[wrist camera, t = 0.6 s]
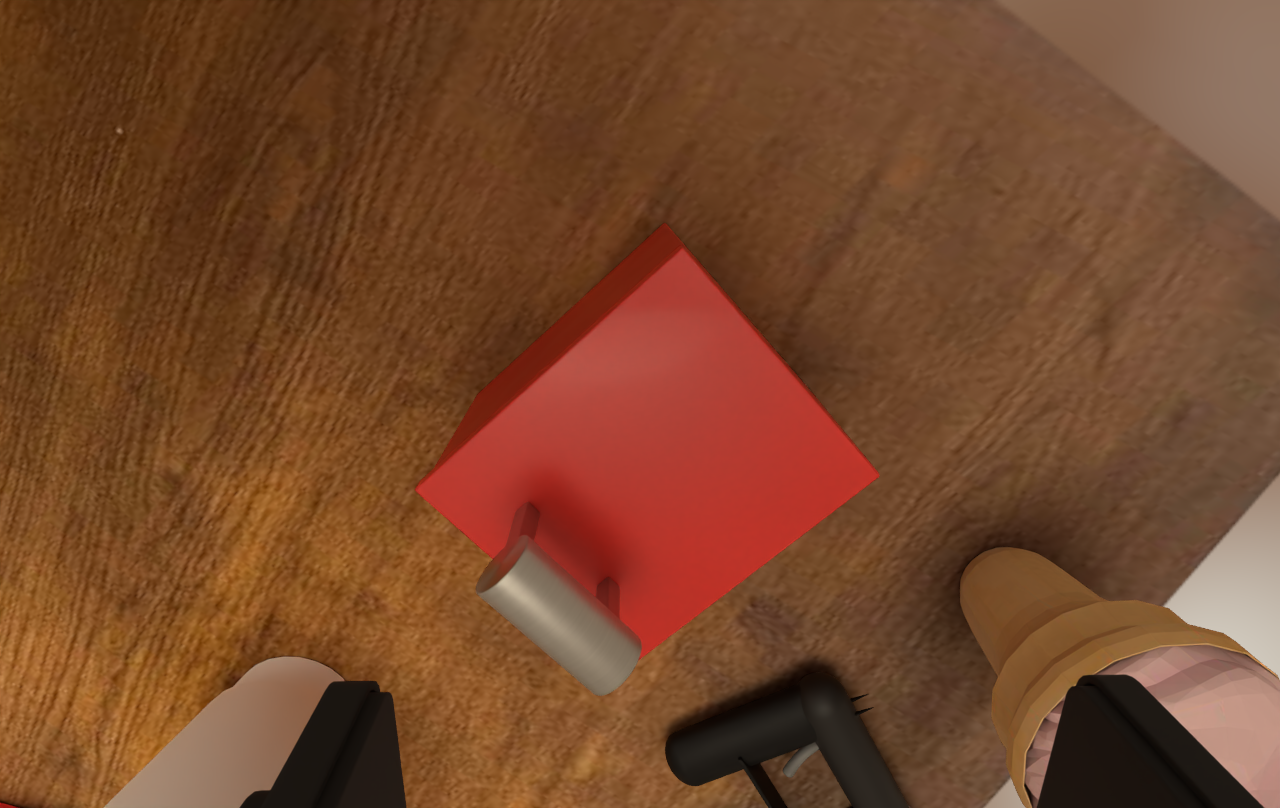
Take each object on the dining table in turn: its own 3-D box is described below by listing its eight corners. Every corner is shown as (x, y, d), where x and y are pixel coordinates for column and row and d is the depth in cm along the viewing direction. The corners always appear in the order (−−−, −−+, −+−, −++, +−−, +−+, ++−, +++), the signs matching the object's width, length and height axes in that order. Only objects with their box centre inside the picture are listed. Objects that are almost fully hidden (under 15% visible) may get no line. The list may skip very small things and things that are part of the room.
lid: (621, 661, 30) (622, 781, 25) (419, 481, 27) (364, 570, 21) (874, 467, 28) (943, 550, 22) (681, 244, 25) (700, 271, 19)
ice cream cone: (1120, 604, 41) (1553, 986, 22) (947, 688, 42) (1212, 1113, 24) (1053, 457, 38) (1493, 759, 19) (869, 555, 39) (1103, 922, 20)
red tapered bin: (631, 543, 39) (635, 650, 30) (476, 395, 36) (433, 467, 27) (814, 395, 36) (873, 467, 28) (664, 221, 33) (680, 243, 25)
